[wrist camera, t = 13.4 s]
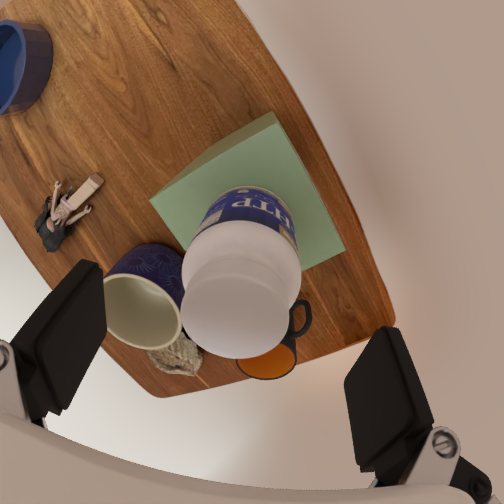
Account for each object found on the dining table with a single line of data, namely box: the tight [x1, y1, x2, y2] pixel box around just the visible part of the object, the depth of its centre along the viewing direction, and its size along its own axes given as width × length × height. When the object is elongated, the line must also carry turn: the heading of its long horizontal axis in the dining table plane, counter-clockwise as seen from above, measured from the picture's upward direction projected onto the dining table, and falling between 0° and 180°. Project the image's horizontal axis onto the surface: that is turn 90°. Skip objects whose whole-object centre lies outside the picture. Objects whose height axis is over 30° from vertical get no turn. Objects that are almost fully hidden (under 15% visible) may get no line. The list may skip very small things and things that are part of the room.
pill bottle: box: [180, 186, 301, 359], centre depth 15 cm, size 5×5×9 cm
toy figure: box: [34, 173, 104, 252], centre depth 40 cm, size 7×6×15 cm
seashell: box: [145, 331, 203, 376], centre depth 51 cm, size 11×7×10 cm
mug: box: [236, 299, 312, 380], centre depth 44 cm, size 8×12×10 cm
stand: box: [150, 111, 346, 272], centre depth 29 cm, size 9×9×22 cm
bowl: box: [0, 19, 53, 118], centre depth 29 cm, size 16×16×6 cm
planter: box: [103, 244, 185, 350], centre depth 42 cm, size 12×12×11 cm
